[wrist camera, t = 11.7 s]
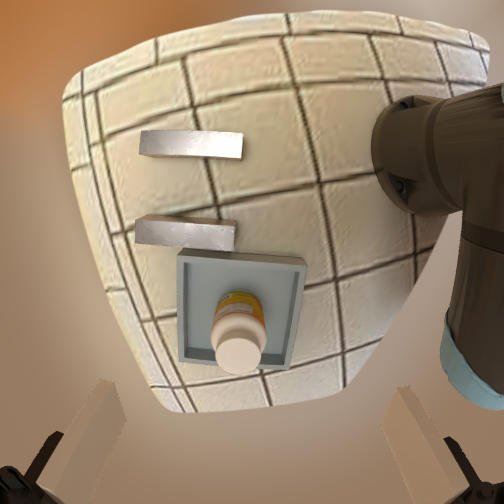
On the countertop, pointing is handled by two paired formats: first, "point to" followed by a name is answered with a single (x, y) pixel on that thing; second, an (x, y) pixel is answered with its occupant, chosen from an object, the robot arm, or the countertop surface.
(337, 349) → the countertop surface
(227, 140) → the steel jaws
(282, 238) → the countertop surface
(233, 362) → the supplement bottle
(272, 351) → the grey tray
